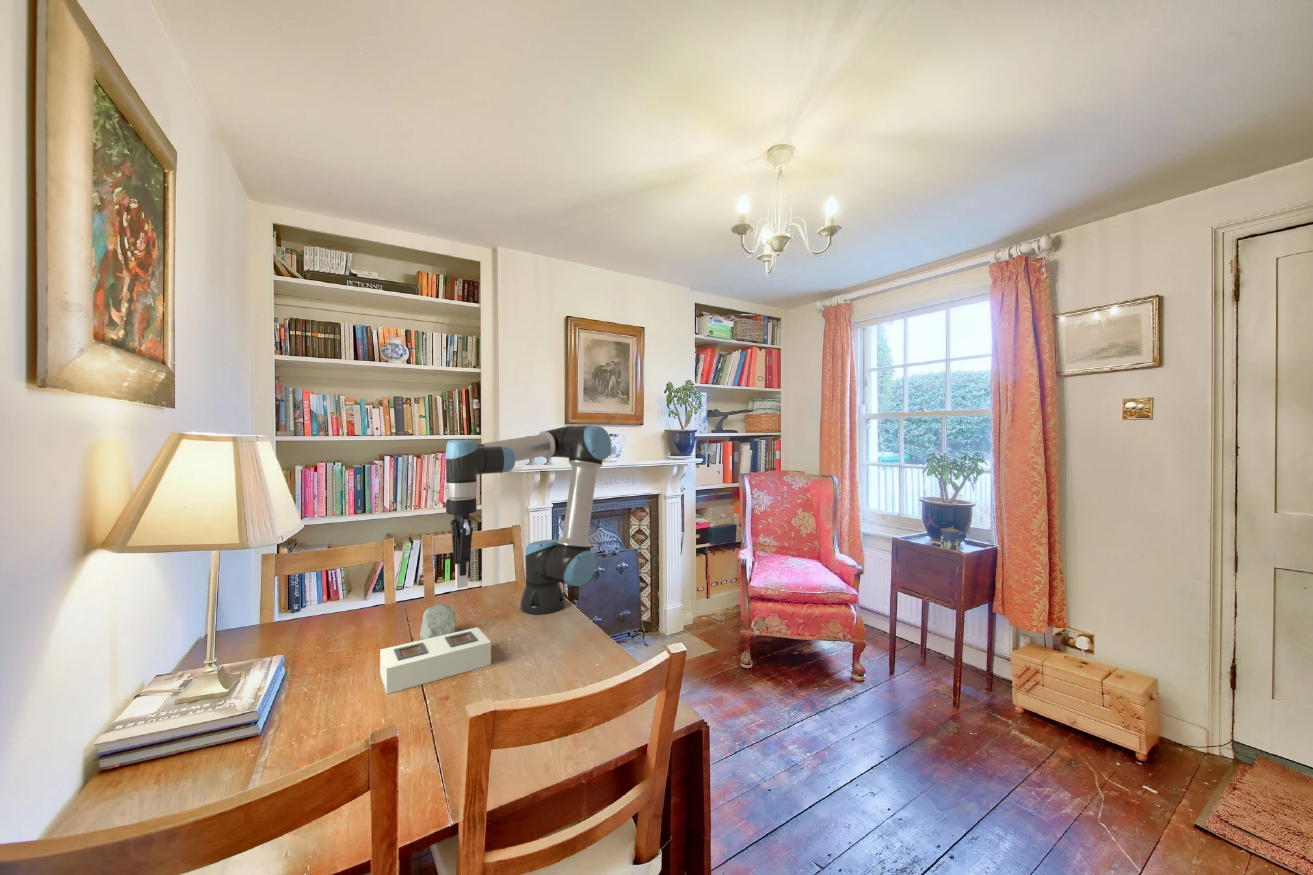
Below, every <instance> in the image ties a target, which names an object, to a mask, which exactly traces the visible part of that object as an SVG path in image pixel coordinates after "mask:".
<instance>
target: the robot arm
mask: <svg viewBox="0 0 1313 875" xmlns="http://www.w3.org/2000/svg"><path fill="white" fill-rule="evenodd" d="M611 451H612V440H611V437H610V435H609V432H608V431H607V430H606V429H605V428H604V427H602V426H598V425H591V424H590V425H589V424H588V425H565V426H562V427H558V428H552V429H550V430H543V431H540V432H539V433H538V434H537V435H536V434H535V435H529V436H522V437H517V438H510V439H502V440H497V441H495V440H494V441H490V442H483V443H477V441H476V440H474V439H473V440H472V439H463V440H462V439H454V440H453V439H452V440H449V441H447V443H446V447H445V482H446V484H445V485H446V486H444V487H443V489H444V491H446V492H445V495H446V496H445V497H446V498H448V499H446V500H445V512H446V514H447V515H453V519H452V521H450V526H451V527H450V528H451V529H450V530H451V540H452V543H451V544H452V557H453V559H454V562H453V563H454V565H455V567H454V568H455V570H454V571H455V572H454V573H455V575H454V576H455V577H454V578H455V582H454V584H455V586H454V587H455V588H456V589H462V588H466V587H468V584H469V582H468V579H469V578H468V570H469V569H468V566H469V565H468V562H471V554H472V553H471V552H472V551H471V550H472V537H473V532H474V527H473V526H472V520H471V519H470V514H474V513H476V512H477V507H478V506H477V504H478V502H477V501H478V500H477V498H475V497H477V496H478V493H477V492H478V488H477V487H478V485H477V484H478V482H477V480H478V479H477V477H478V476H477V475H483V474H484V475H486V474H498V473H499V474H503V473H509V472H511V471H512V470H513V469H514V467H515V464H516V462H520V461H525V460H531V459H534V458H540V457H543V458H544V459H549V458H566V459H568V463H569V464H570V466H571V472H570V474H571V475H570V481H569V488H568V496H567V503H566V509H565V517H564V523H563V530H562V535H561V538H560V539H544V540H538V541H537V540H536V541H533V542H530V543H528V544H527V546H526V549H525V555H524V556H525V587H524V591H523V593H522V596H521V599H520V603H519V604H520V609H519V610H521V611H522V612H523V613H526V614H531V615H545V614H551V613H555V612H557V611H560V610H562V609H563V608H564V607H565V597H564V593H563V590H562V587H561V584H564V585H566V586H574V587H581V586H583V585H586V584H587V583H588V582H589V581H590V580H591V579H592V577H593V575H594V574H595V572H596V571H595V570H596V567H597V559H596V555H595V554H594V553H593V552H592V544H591V543H590V541H589V539H588V538H589V531H590V525H591V524H590V523H591V517H592V511H593V502H594V494H595V487H596V478H597V472H598V470H600V468H601V467H602V466H603V461H604V460H606V459H608V457H609V456H610V454H611ZM560 583H561V584H560ZM563 606H564V607H563ZM561 608H562V609H561Z"/></svg>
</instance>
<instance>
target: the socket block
mask: <svg viewBox="0 0 1313 875" xmlns="http://www.w3.org/2000/svg"><path fill="white" fill-rule="evenodd" d="M465 635H467V636H468V637H469V638H470V640H467V641H463V642H459V643H455V644H454V643H453V642H452V640H451V639H453V638H457V637H461V636H465ZM415 647H419V649H420V651H421V652H418V653H414V654H410V655H406V656H402V655H401V651H402V650H406V649H410V648H415ZM379 652H380V653H379V664H380V665H379V668H380V669H379V673H380V677H381V682H382V683H383V686H384V690H385V693H386V695H388V694H389V695H390V694H392V693H396V692H399V691H400V692H401V691H403V690H407V689H410V688H414V687H417V686H420V685H425V684H427V683H431V682H436V681H439V680H441V679H445V678H450V677H452V676H455V675H460V674H464V673H467V672H471V671H475V670H478V669H482V668H485V667H489V666H491V665H492V642H491V640H490V639H489V638H488V637H487V636H486V635H485V633H483V631H482V630H481V629H480V628H479V627H478V626H476V627H473V628H472V627H471V628H468V629H464V630H460V631H455V632H454V633H450V634H446V635H441V636H437V637H433V638H428V639H424V640H421V639H420V640H416V641H412V642H407V643H402V644H400V645H394V646H390V647H385V648H381V649H380V650H379Z"/></svg>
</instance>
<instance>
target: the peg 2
mask: <svg viewBox="0 0 1313 875" xmlns="http://www.w3.org/2000/svg"><path fill="white" fill-rule="evenodd" d="M451 640H452V642H453V643H454V644H455V643H459V642H463V641H467V640H470V638H469V637H468V636H467V635H465V636H461V637H457V638H453V639H451Z"/></svg>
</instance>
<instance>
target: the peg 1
mask: <svg viewBox="0 0 1313 875" xmlns="http://www.w3.org/2000/svg"><path fill="white" fill-rule="evenodd" d="M418 652H421V651H420V649H419V647H415V648H410V649H406V650H402V651H401V655H402V656H406V655H410V654H414V653H418Z"/></svg>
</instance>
